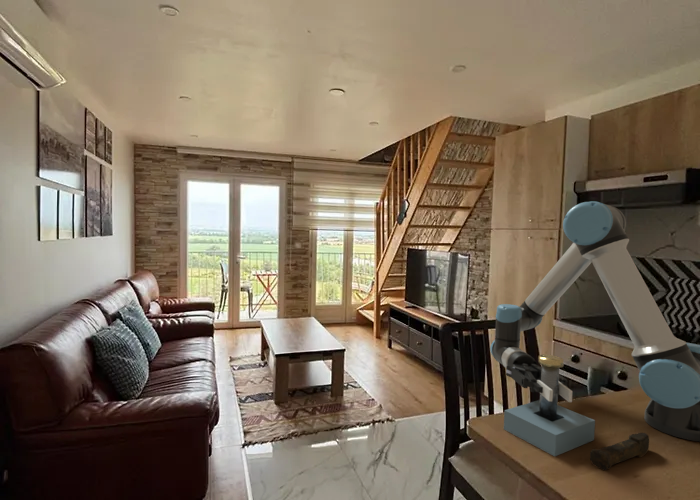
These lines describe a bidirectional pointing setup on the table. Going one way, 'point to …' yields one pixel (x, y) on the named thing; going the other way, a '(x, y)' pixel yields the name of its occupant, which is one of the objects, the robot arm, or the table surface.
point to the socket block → (549, 428)
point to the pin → (550, 385)
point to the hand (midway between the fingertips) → (560, 396)
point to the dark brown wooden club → (620, 451)
